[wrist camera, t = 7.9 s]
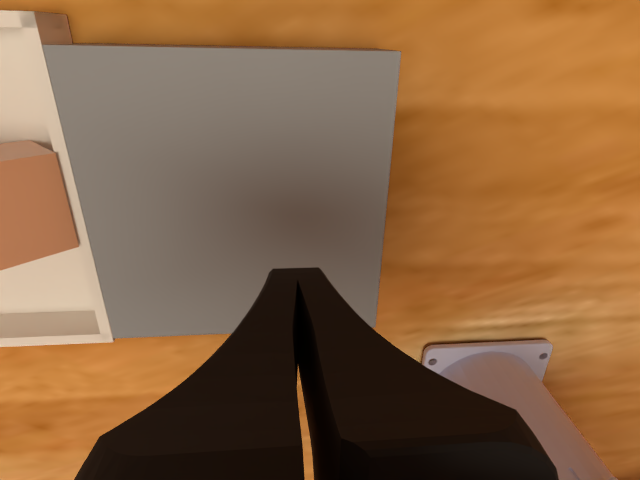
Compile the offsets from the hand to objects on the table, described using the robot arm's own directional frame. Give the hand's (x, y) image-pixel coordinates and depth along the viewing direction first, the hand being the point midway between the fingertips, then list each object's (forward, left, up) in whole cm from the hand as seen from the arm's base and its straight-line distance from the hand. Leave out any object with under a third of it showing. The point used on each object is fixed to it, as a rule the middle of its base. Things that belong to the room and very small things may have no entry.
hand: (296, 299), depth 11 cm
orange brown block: (0, +12, -8) cm, 15 cm away
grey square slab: (0, +2, -10) cm, 10 cm away
